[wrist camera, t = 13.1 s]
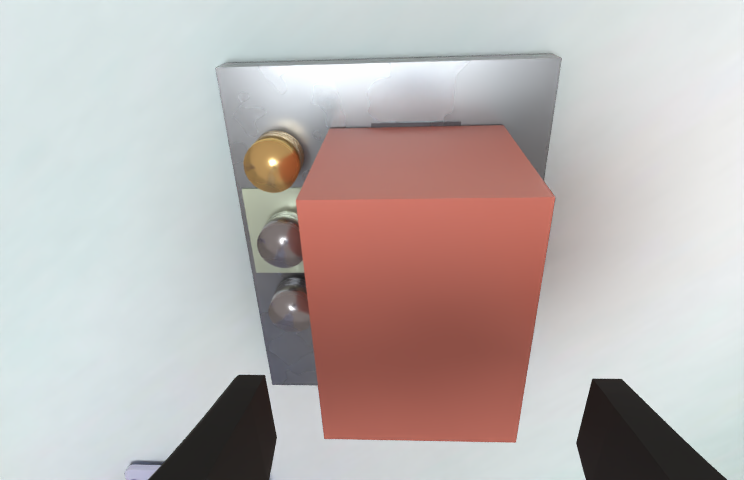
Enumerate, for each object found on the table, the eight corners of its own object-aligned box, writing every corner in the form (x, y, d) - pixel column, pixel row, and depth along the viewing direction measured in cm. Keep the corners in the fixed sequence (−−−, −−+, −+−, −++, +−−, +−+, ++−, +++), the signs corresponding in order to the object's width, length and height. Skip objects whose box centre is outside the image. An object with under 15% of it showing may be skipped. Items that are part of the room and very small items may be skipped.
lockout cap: (484, 318, 20) (515, 442, 14) (344, 317, 20) (324, 438, 15) (503, 124, 16) (555, 197, 11) (329, 128, 16) (295, 200, 11)
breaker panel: (508, 371, 22) (519, 408, 20) (277, 369, 23) (266, 404, 21) (552, 53, 16) (573, 64, 14) (224, 62, 16) (202, 74, 14)
